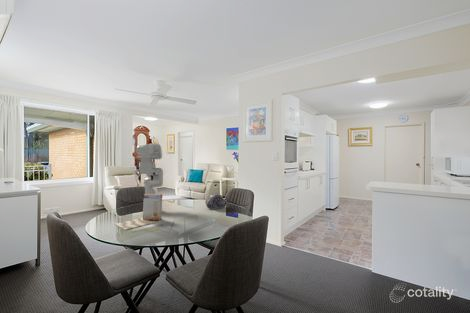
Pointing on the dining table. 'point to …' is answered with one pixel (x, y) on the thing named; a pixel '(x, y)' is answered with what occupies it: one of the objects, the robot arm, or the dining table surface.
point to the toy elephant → (215, 201)
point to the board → (133, 223)
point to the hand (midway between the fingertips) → (145, 180)
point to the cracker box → (152, 207)
